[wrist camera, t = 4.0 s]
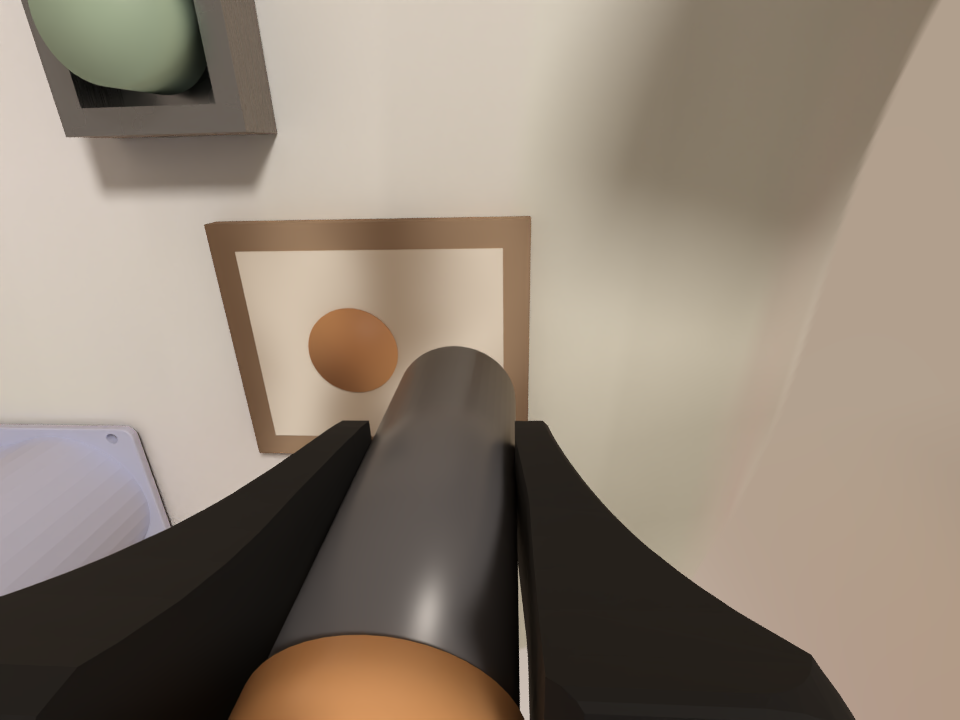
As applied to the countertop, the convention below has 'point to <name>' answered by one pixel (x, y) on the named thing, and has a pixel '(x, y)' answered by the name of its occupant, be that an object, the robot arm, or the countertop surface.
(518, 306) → the board
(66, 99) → the button housing
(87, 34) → the button
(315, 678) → the marker
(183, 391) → the countertop surface
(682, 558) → the countertop surface
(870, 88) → the countertop surface
